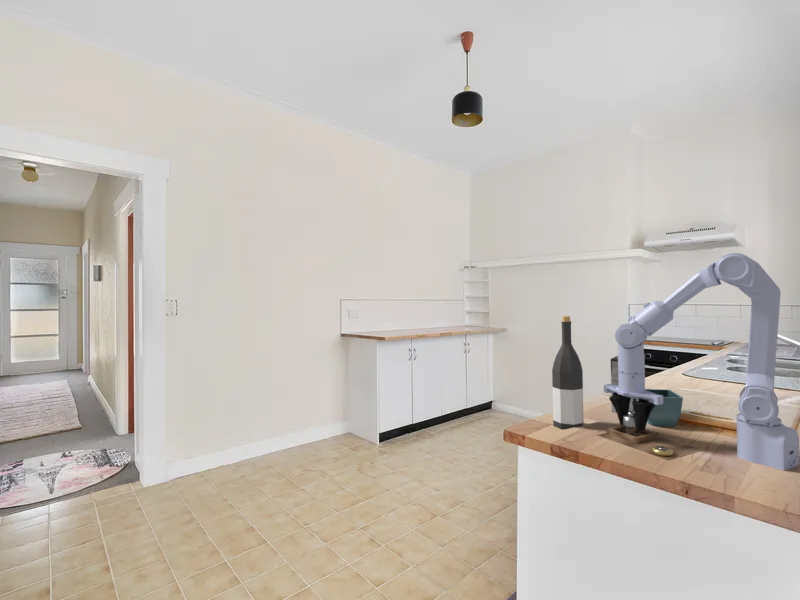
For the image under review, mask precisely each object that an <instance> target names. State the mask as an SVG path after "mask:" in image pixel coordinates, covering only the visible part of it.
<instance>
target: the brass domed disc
mask: <svg viewBox="0 0 800 600" xmlns="http://www.w3.org/2000/svg"><path fill="white" fill-rule="evenodd" d="M652 453H653V454H655V455H658V456H662V457H671V456H673V450H672V449H671V448H668V447H664V446H653V447H652Z"/></svg>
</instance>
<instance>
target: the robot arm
mask: <svg viewBox="0 0 800 600" xmlns="http://www.w3.org/2000/svg"><path fill="white" fill-rule="evenodd" d="M722 282H724V283H725V284H728V285H731V286H733V287H735V288H737V289H739V290H740V291H741V292H743V294H744V295H746V296H747V297H748V298H750V299H751V305H750V306H751V307H750V319H749V333H748V334H749V335H748V349H747V350H748V351H747V360H746V361H747V363H746V377H745V386H744V387H743V388H742V390H741V391H740V393H739V400H738V403H737V408H738V411H739V413H737V414H736V455H737V457H738V458H740V459H742V460H744V461H747V462H750V463H752V464H753V463H754V464H757V465H758V464H759V465H762V466H766V467H769V468H773V469H777V470H780V471H787V470H790V469H793V468H794V467H797V466H800V437H799V433H798V431H797V429H795V428H793V427H790V426H787V425H785V424H783V423H782V419H781V418H779V417H778V416H779V414H780V409H779V408H780V407H779V405H778V401H779V400H778V396H777V394H776V392H775V373H776V372H775V371H776V363H777V362H776V361H777V359H776V358H777V346H778V333H779V322H780V321H779V320H780V319H779V318H780V306H781V296H782V295H781V289H780V287H779V286H778V285H777V284H776V283H775V281H774V280H773V279H772V277H771V276H770V275H769V274H768V272H766V271H765V269H764V267H763V266H761V264H760V263H759V262H758V261H756V260H754V259H753V258H751V257H749V256H748V255H745V254H743V253H740V252H739V253H738V252H731V253H727V254H724V255H723V256H721V257H720V258H719V259H718V260H717V261H716V262H712V263H711V264H709V265H707V266H706V267H703V268H702V269H701V270H699V271H698V272H696V273H695V274H694V275H692V276H691V277H690V278H689V279H688V280H687V281H686V282H684V283H683V284H682V285H681V286H679V287H678V288H677V289H675V291H673V293H671V294H669V295H668V296H667V297H666V298H665V299H663V300H662V301H661V300H654V301H651V302H646V303H645V304H643V306H642V307H643V308H642V310H640V311H638V313H636V314H635V315H634V316H630V317H628V318H627V321H628V323H622V324H620V325H619V327H618V328H617V329H616V330H615V334H614V338H615V340H616V342H617V345H618V346H617V347H618V350H617V351H618V353H617V356H618V382H619V386H618V385H611V383H606V384H603V393H604V394H609V393H610V394H611V393H613V395H612V396H611V395H610V396H609V397H608V398H609V401H610V402H612V404H613V406H614V408H615V410H616V412H615V413H616V414H617V418H618V421H619V426H621V425H622V426H623V415H624V414H627V412H628V411H629V405H630V400H631V398H634V399H638V400H639V401H635V402H632V404H633V407H634V410H635V415H636V428H637V430H638V431H642V430H645V429H647V428H646V427H647V424H648V423H647V420H648V418H649V415H650V413H651V411H652V410H653V408H654V407H655V405H661V404H663V396H662V395H658V394H655V393H652V392H649V391H646V390H645V389H646V371H645V370H646V367H645V365H646V364H645V363H646V362H645V361H646V360H645V358H646V356H645V352H644V351H645V350H644V349H645V347H644V343H645V342H646V340H647V338H648V337H651V336H652V335H654V334H656V333H657V332H658V331H659V330H660V329H662V328H663V327H665V326H666V325H668V324H669V323H670V322H672V321H673V320H674V313H675V311H676V310H678V308H681V306H683V305H684V304H685V303H687V302H688V301H690V300H691V299H693V298H694V297H695V296H697V295H698V294H700V292H702V291H703V290H705V289H707V288H711V287H715V286H716V287H717V286H720V285H722Z"/></svg>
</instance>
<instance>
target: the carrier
mask: <svg viewBox="0 0 800 600" xmlns="http://www.w3.org/2000/svg"><path fill="white" fill-rule="evenodd" d="M598 436H599V437H601V438H603V439H607V440H609V441H612V442H615V443H618V444H620V445H623V446H625V447H626V446H627V447H629V448H632V449H634V450H637V451H640V452H644V453H646V454H649V455H651V456H655V457H658V458H661V459H662V460H663V459H664V460H666V461H671V460H676V459H678V458H682V457H686V456H689V455H692V454H695V453H699V452H701V451H704V449H702V448H699V447H695V446H692V445H689V444H686V443H682V442H679V441H676V440H673V439H669V438H667V437H662V436H660V432H657V431H655V430H651V429H647V428H645V430H642V432H641V433H637V434H635V433H628V432H625V431H624V430H623V426H622V425H618V426H613V427H609V428H606V432H603V433H599V434H597V437H598ZM653 446H664V447H668V448H671V449H672V450H673V456H671V457H662V456H658V455H655V454H653V453H652V447H653Z"/></svg>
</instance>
